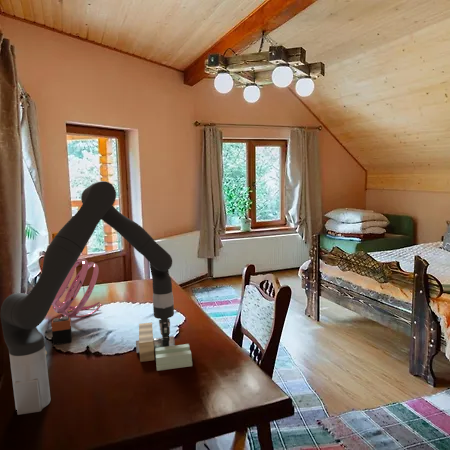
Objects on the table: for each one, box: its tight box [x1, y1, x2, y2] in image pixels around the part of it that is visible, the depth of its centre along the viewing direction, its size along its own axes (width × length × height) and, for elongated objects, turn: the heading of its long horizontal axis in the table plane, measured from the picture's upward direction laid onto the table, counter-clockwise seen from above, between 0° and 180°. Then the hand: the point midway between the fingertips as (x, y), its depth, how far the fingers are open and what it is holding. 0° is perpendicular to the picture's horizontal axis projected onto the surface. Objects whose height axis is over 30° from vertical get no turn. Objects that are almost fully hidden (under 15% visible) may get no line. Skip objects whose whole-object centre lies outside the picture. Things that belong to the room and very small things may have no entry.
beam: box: [138, 322, 156, 363], centre depth 147 cm, size 18×5×7 cm, turn 12°
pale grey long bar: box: [135, 335, 176, 354], centre depth 147 cm, size 14×4×4 cm, turn 103°
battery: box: [50, 316, 73, 346], centre depth 157 cm, size 4×7×10 cm, turn 107°
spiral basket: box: [51, 258, 102, 319], centre depth 186 cm, size 28×28×27 cm
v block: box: [154, 343, 193, 372], centre depth 137 cm, size 10×12×4 cm
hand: (165, 346), depth 148 cm, fingers closed on pale grey long bar, 4 cm apart
